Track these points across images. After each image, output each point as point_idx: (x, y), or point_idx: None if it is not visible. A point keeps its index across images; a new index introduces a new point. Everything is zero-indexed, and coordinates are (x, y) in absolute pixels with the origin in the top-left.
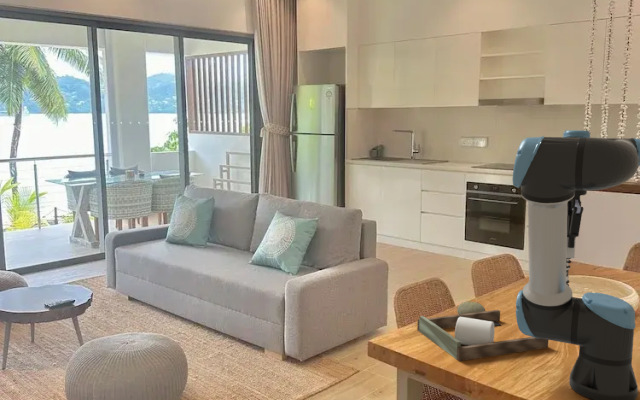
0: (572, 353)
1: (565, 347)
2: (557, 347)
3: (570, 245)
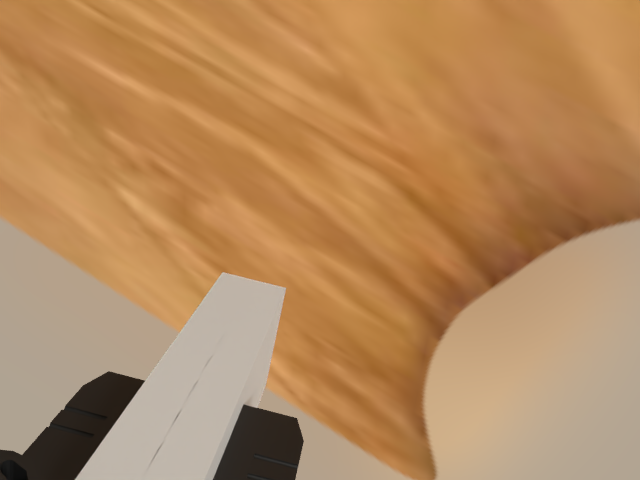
0: (103, 43)
1: (168, 47)
2: (168, 7)
3: (72, 412)
